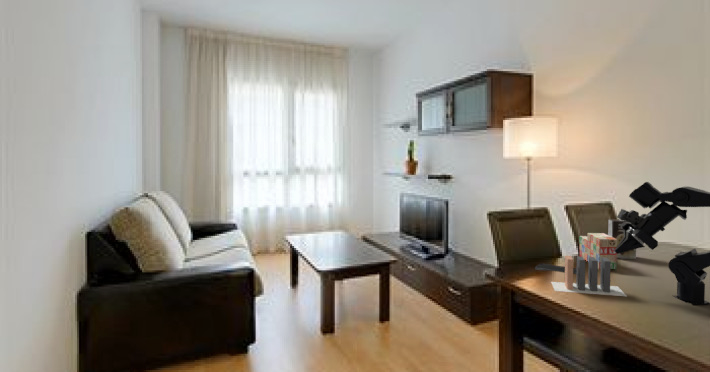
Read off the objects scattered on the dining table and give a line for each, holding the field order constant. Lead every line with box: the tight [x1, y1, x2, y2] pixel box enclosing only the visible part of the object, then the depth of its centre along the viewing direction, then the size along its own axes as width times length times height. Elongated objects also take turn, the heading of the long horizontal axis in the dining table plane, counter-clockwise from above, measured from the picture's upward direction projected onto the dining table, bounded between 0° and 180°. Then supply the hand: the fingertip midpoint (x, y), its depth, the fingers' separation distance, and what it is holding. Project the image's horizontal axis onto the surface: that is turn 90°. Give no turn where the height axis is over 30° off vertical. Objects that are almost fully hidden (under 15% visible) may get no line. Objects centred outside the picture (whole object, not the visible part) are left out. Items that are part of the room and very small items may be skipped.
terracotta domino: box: [564, 255, 574, 290], centre depth 132 cm, size 2×5×10 cm, turn 161°
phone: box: [534, 263, 577, 275], centre depth 154 cm, size 8×1×15 cm
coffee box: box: [607, 218, 637, 260], centre depth 171 cm, size 9×6×16 cm
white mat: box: [550, 281, 627, 297], centre depth 130 cm, size 20×10×1 cm, turn 71°
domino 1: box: [576, 255, 586, 291], centre depth 131 cm, size 2×5×10 cm, turn 161°
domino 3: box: [599, 258, 611, 293], centre depth 128 cm, size 2×5×10 cm, turn 161°
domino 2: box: [587, 257, 599, 292], centre depth 130 cm, size 2×5×10 cm, turn 161°
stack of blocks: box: [578, 232, 618, 270], centre depth 163 cm, size 21×6×12 cm, turn 169°
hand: (615, 252), depth 128 cm, fingers closed
